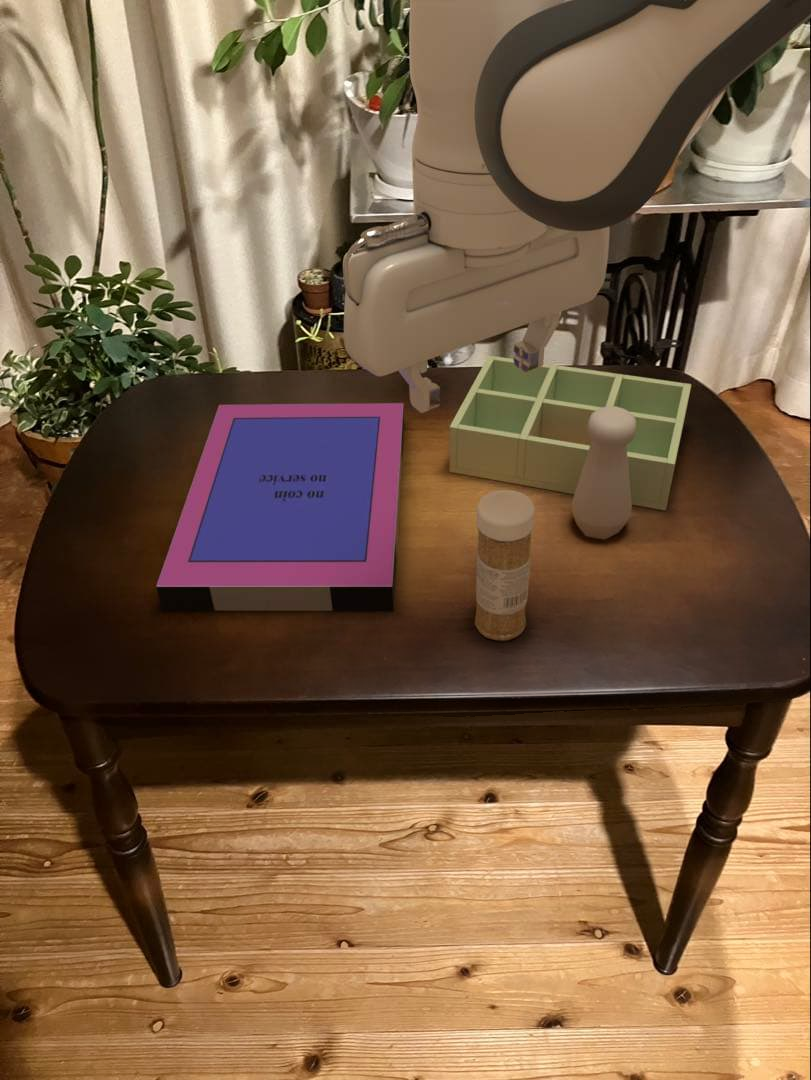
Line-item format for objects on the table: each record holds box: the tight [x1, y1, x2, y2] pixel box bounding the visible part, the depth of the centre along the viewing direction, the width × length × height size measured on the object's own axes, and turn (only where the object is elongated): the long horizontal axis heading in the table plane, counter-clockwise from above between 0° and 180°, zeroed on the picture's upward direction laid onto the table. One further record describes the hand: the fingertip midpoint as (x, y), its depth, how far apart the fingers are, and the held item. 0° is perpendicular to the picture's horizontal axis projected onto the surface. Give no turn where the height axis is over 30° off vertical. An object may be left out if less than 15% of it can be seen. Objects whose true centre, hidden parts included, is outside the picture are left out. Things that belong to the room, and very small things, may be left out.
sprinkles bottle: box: [474, 489, 536, 642], centre depth 76 cm, size 5×5×14 cm
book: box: [156, 402, 405, 612], centre depth 93 cm, size 21×3×30 cm
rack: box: [449, 355, 692, 511], centre depth 98 cm, size 23×15×6 cm
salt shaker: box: [570, 406, 636, 540], centre depth 86 cm, size 6×6×13 cm
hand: (478, 386), depth 67 cm, fingers open, 8 cm apart
